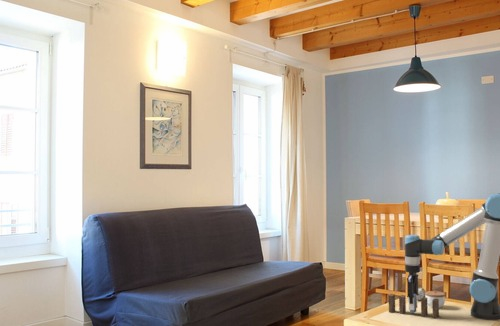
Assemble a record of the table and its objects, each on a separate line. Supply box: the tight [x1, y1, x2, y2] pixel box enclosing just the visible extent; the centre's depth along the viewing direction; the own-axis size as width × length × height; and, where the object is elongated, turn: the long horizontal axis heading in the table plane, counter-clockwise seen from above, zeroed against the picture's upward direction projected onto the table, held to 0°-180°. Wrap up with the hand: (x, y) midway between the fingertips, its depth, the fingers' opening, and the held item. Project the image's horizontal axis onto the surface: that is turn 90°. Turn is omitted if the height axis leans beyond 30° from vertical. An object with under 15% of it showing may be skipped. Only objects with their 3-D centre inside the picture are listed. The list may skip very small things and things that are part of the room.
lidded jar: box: [425, 289, 446, 309], centre depth 286 cm, size 11×11×9 cm
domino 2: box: [398, 294, 407, 315], centre depth 274 cm, size 2×5×9 cm, turn 148°
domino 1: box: [388, 293, 396, 314], centre depth 277 cm, size 2×5×9 cm, turn 148°
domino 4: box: [420, 297, 429, 318], centre depth 268 cm, size 2×5×9 cm, turn 148°
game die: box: [417, 287, 427, 303], centre depth 301 cm, size 9×8×10 cm
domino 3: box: [409, 294, 417, 314], centre depth 271 cm, size 2×5×9 cm, turn 148°
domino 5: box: [432, 299, 440, 319], centre depth 265 cm, size 2×5×9 cm, turn 148°
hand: (413, 308), depth 271 cm, fingers closed on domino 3, 5 cm apart
